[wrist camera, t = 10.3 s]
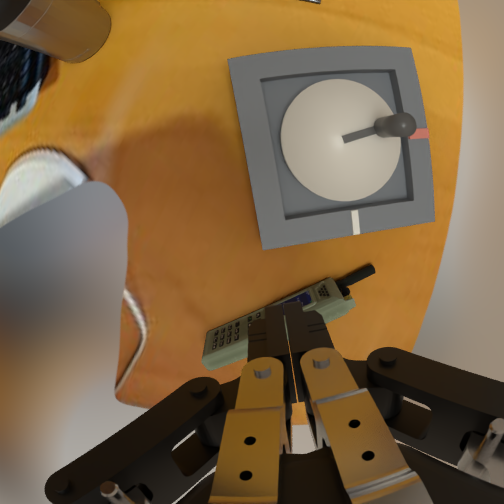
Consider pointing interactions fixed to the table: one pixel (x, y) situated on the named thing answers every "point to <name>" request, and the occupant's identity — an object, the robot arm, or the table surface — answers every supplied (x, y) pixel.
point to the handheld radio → (312, 298)
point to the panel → (279, 175)
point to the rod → (312, 1)
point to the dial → (342, 139)
